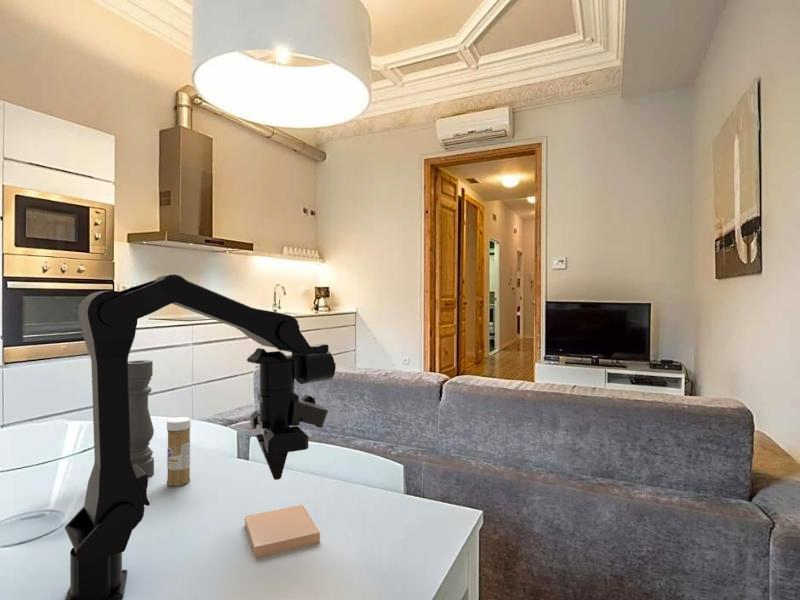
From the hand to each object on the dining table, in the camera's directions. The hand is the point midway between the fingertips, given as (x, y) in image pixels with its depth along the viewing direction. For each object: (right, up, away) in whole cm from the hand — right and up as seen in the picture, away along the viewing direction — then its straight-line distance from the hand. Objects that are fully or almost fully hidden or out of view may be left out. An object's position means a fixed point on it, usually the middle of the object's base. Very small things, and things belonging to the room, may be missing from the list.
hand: (277, 478), depth 79 cm
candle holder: (-36, -8, +22) cm, 43 cm away
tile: (+1, -7, -3) cm, 8 cm away
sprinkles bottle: (-26, -8, +19) cm, 33 cm away
